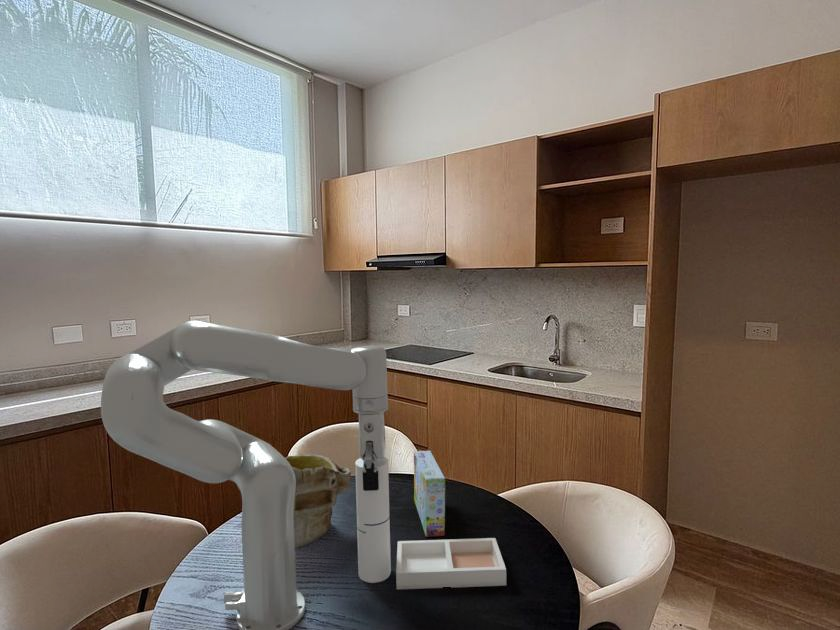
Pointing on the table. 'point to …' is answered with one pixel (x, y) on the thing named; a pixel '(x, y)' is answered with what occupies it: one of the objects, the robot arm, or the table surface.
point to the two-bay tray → (449, 563)
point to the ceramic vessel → (315, 494)
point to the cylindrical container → (373, 525)
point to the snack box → (429, 493)
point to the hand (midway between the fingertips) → (372, 480)
